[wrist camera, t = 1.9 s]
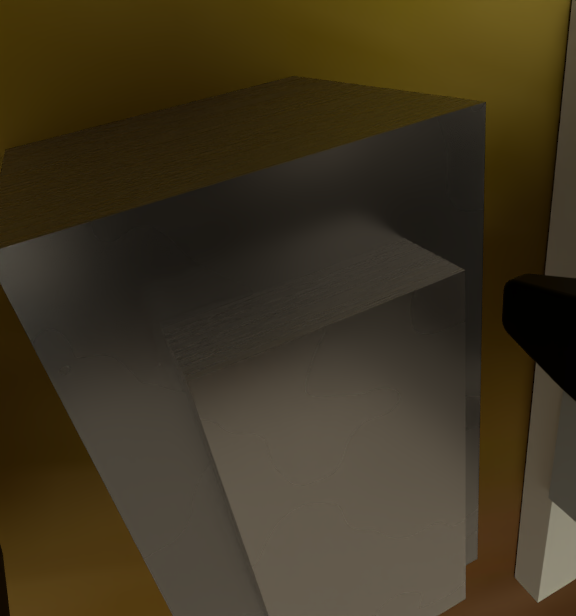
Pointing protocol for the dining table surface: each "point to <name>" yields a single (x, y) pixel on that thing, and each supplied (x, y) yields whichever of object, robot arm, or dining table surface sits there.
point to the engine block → (269, 338)
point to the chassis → (553, 394)
